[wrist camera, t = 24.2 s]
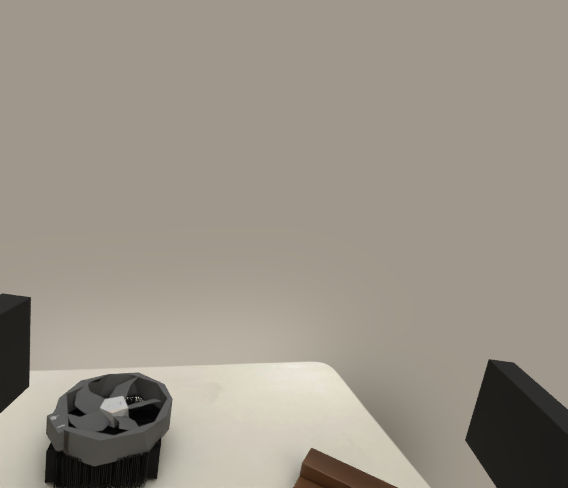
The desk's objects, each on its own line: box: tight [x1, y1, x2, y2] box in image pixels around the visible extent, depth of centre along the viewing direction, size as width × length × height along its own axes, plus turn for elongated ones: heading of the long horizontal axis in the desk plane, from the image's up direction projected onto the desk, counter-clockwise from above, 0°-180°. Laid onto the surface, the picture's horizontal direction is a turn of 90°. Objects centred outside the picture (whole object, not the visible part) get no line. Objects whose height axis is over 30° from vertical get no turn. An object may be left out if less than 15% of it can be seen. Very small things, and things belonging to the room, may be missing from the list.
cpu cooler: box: [45, 373, 172, 488], centre depth 38 cm, size 10×6×10 cm
